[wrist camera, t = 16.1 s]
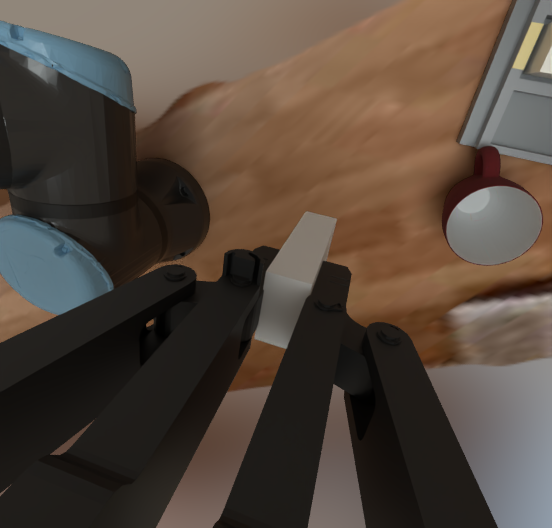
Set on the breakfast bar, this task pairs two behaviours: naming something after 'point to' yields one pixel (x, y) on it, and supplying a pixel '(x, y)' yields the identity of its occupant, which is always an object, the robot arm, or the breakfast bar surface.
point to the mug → (490, 215)
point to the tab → (541, 55)
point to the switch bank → (514, 91)
